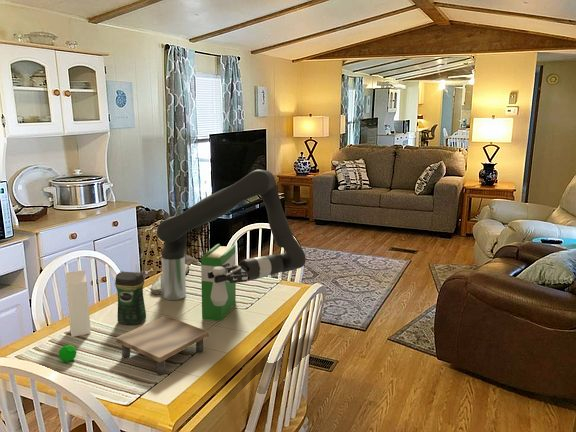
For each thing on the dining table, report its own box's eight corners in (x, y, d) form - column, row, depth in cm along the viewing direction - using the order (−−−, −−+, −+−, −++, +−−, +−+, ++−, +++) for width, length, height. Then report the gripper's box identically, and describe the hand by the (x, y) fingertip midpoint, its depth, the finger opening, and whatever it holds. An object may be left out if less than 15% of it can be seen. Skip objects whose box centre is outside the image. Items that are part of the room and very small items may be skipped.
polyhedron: (68, 354, 147) (67, 340, 146) (80, 358, 145) (79, 344, 144) (55, 362, 142) (54, 348, 141) (67, 366, 141) (66, 351, 140)
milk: (90, 333, 161) (86, 272, 156) (71, 337, 158) (66, 275, 153) (88, 326, 166) (84, 267, 161) (69, 329, 163) (64, 269, 158)
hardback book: (218, 300, 191) (217, 243, 186) (235, 302, 190) (235, 245, 184) (202, 318, 174) (201, 257, 169) (221, 321, 173) (220, 258, 167)
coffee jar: (149, 317, 174) (147, 269, 170) (140, 326, 167) (137, 277, 162) (124, 315, 175) (121, 268, 171) (114, 324, 168) (111, 275, 164)
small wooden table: (116, 356, 146) (115, 337, 145) (166, 332, 163) (165, 315, 161) (160, 378, 136) (159, 357, 134) (208, 350, 152) (208, 331, 150)
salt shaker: (224, 308, 156) (224, 271, 153) (208, 306, 157) (207, 269, 154) (230, 301, 162) (229, 265, 159) (214, 299, 163) (213, 263, 160)
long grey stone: (194, 271, 228) (174, 271, 229) (194, 261, 227) (174, 261, 228) (168, 295, 193) (145, 295, 195) (167, 283, 193) (144, 283, 194)
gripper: (244, 252, 170) (201, 261, 160) (266, 263, 159) (221, 273, 149) (244, 272, 172) (202, 281, 162) (266, 284, 161) (221, 295, 151)
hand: (211, 277), depth 155 cm, fingers closed on salt shaker, 4 cm apart
